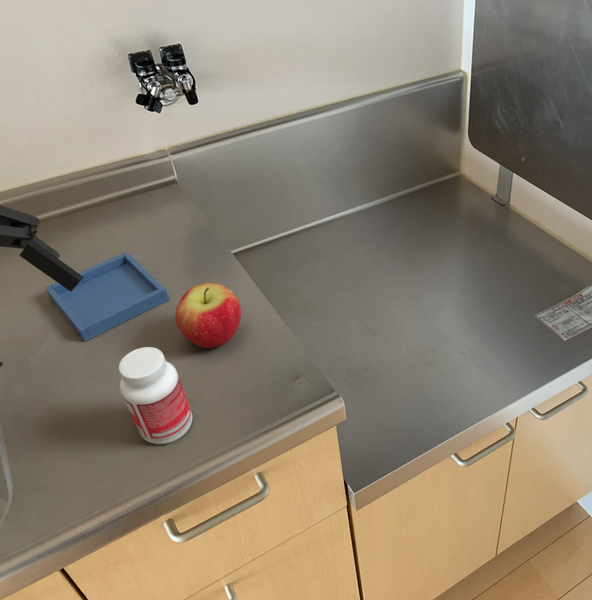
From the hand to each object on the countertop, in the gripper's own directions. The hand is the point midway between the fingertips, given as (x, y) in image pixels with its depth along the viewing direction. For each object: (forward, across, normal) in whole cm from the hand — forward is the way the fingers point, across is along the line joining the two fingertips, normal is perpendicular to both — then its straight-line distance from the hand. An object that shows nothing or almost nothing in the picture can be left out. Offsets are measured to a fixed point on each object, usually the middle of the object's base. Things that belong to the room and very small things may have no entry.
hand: (40, 325), depth 65 cm
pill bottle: (+18, 0, -3) cm, 18 cm away
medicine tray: (+4, -20, -16) cm, 26 cm away
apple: (+18, -15, -3) cm, 23 cm away
